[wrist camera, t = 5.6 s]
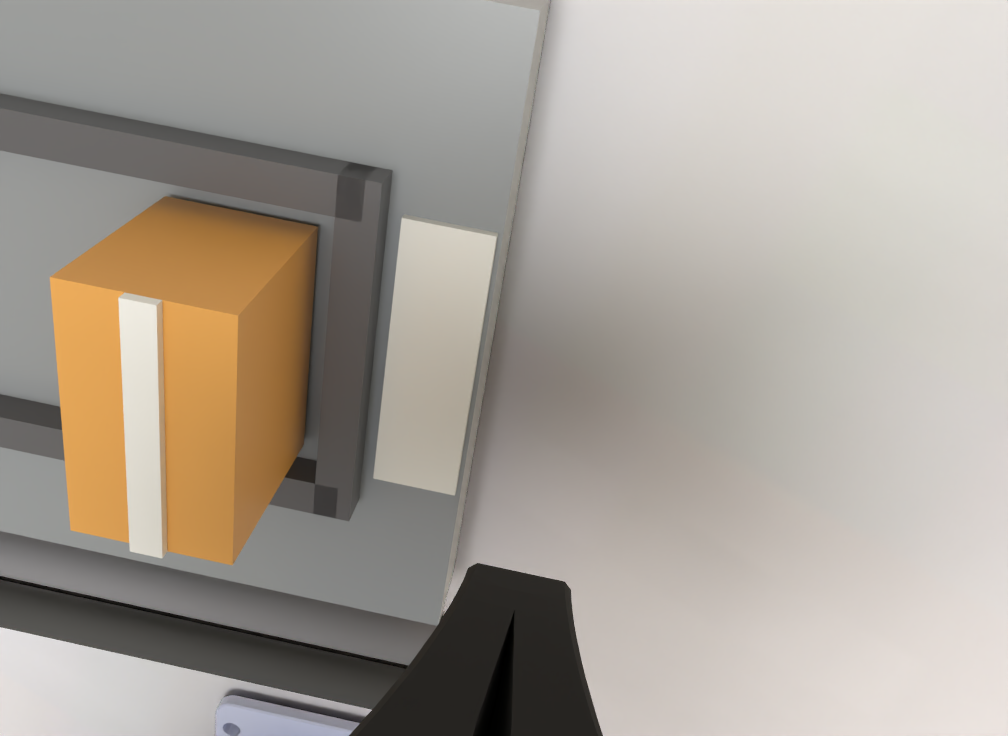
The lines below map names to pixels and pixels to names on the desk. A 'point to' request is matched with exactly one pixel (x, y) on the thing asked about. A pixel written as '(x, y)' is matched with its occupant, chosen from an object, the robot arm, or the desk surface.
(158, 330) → the lever
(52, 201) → the breaker panel
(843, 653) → the desk surface
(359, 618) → the dark gray parallel rods
